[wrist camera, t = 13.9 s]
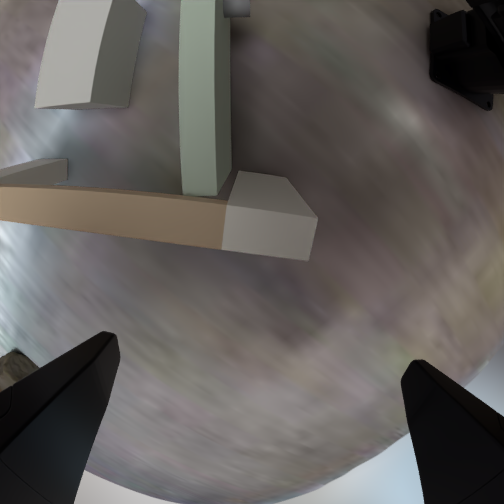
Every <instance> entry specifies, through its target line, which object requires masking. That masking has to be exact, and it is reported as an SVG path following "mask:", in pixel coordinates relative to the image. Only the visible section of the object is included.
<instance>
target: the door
mask: <svg viewBox="0 0 504 504" xmlns="http://www.w3.org/2000/svg"><path fill="white" fill-rule="evenodd" d="M231 17H250V0H181V14H180V37H179V131H180V156H181V175H182V191H183V195H184V196H193V197H194V196H217V195H218V193H219V191H220V190H221V188H222V186H223V184H224V182H225V181H226V179H227V177H228V175H229V174H230V172H231V170H232V155H231V95H230V18H231Z"/></svg>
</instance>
